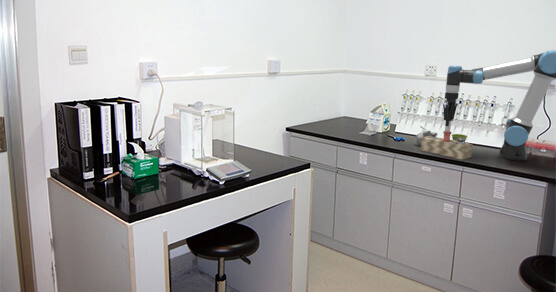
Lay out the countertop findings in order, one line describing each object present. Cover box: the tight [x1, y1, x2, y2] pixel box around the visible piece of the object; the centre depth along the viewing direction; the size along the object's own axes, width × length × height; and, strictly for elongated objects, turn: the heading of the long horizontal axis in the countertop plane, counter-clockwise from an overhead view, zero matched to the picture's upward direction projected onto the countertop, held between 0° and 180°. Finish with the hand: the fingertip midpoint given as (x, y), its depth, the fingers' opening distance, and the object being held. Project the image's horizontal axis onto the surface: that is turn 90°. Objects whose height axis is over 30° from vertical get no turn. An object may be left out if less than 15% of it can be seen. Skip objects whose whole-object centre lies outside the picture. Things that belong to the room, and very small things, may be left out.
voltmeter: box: [414, 126, 432, 147], centre depth 299 cm, size 27×11×10 cm, turn 179°
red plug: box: [442, 130, 452, 142], centre depth 273 cm, size 5×5×10 cm
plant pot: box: [451, 133, 468, 143], centre depth 288 cm, size 9×9×9 cm
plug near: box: [457, 138, 466, 145], centre depth 267 cm, size 5×5×10 cm
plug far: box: [430, 132, 438, 139], centre depth 280 cm, size 5×5×10 cm
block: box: [419, 136, 474, 161], centre depth 274 cm, size 28×10×8 cm, turn 40°
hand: (447, 131), depth 272 cm, fingers closed
